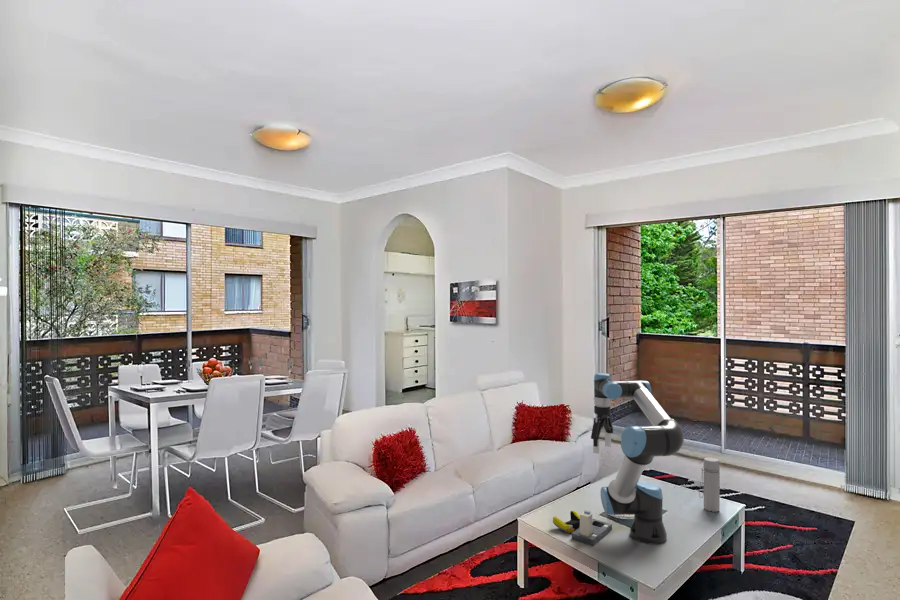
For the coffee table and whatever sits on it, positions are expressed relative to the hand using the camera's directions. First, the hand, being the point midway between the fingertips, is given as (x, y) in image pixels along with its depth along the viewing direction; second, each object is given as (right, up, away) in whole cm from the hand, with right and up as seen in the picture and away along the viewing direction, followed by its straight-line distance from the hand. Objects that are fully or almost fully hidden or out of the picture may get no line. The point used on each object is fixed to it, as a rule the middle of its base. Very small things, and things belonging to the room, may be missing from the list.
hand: (602, 449), depth 252 cm
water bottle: (+56, -33, +9) cm, 66 cm away
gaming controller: (-18, -33, -11) cm, 39 cm away
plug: (-14, -33, -22) cm, 42 cm away
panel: (-10, -33, -17) cm, 38 cm away
